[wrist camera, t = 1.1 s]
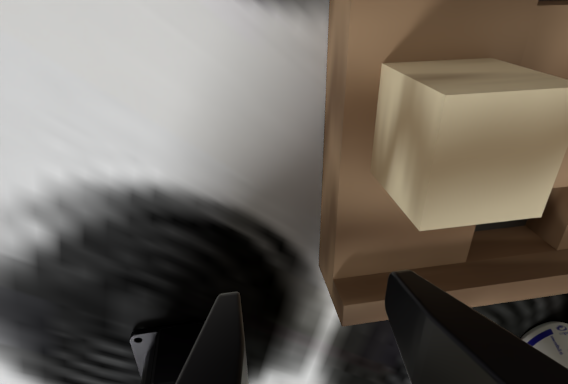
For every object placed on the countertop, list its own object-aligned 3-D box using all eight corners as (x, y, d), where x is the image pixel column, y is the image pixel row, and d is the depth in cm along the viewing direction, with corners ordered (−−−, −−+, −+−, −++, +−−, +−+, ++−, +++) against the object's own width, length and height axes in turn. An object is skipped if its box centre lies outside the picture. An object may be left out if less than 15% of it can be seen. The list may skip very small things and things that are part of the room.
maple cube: (466, 162, 19) (541, 216, 15) (370, 171, 18) (419, 231, 14) (491, 57, 17) (590, 86, 12) (381, 63, 16) (445, 95, 12)
